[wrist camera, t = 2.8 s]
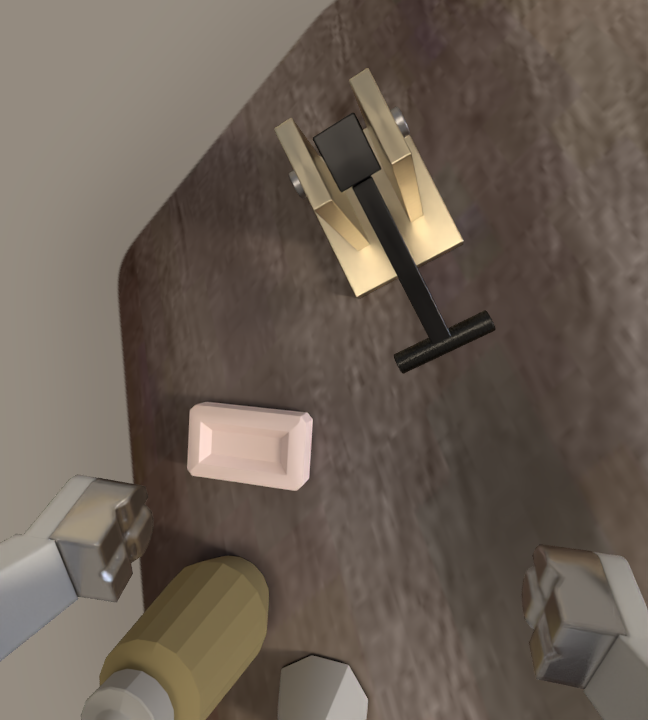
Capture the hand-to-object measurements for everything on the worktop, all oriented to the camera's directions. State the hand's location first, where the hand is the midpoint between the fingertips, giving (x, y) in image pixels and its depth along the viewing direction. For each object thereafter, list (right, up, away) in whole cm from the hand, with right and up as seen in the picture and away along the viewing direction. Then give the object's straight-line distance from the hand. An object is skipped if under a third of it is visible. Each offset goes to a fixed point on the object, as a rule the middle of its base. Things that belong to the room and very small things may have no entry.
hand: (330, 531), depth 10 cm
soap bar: (-5, -3, +28) cm, 29 cm away
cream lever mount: (+4, +14, +24) cm, 29 cm away
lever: (+4, +10, +16) cm, 19 cm away
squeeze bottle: (-7, -15, +29) cm, 33 cm away
